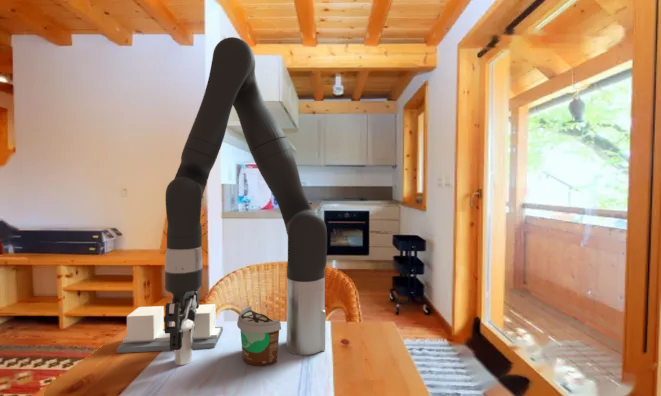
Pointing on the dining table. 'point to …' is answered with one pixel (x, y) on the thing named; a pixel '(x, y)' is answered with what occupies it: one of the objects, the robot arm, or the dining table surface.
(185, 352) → the milkshake
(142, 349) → the twin block base plate
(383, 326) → the dining table surface
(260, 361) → the food container
